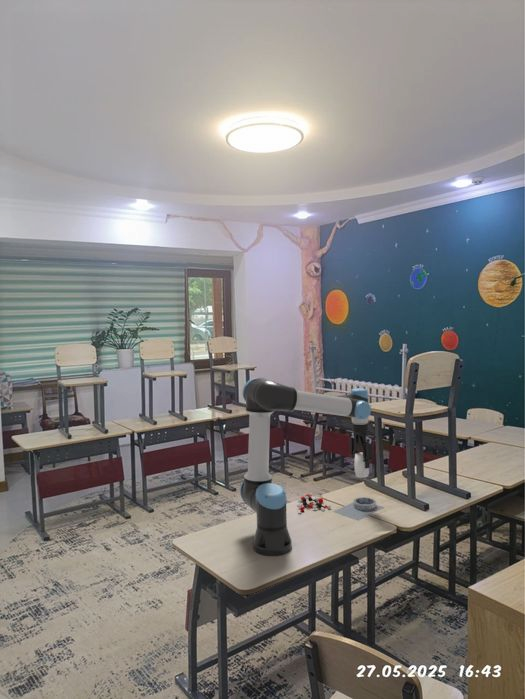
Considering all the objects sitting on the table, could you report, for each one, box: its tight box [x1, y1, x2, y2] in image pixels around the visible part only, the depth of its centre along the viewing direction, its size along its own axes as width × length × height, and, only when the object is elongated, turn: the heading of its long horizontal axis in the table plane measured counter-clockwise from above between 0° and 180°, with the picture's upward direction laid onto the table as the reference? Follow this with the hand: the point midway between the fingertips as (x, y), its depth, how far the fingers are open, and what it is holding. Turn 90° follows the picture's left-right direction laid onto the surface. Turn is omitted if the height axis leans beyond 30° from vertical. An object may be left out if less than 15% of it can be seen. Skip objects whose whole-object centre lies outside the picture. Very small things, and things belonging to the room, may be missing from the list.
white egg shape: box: [354, 451, 369, 479], centre depth 223 cm, size 6×6×10 cm
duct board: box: [332, 502, 385, 521], centre depth 223 cm, size 20×14×1 cm
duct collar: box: [352, 497, 377, 511], centre depth 226 cm, size 10×10×2 cm
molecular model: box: [296, 492, 332, 513], centre depth 229 cm, size 10×12×15 cm
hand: (361, 472), depth 223 cm, fingers closed on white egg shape, 5 cm apart
